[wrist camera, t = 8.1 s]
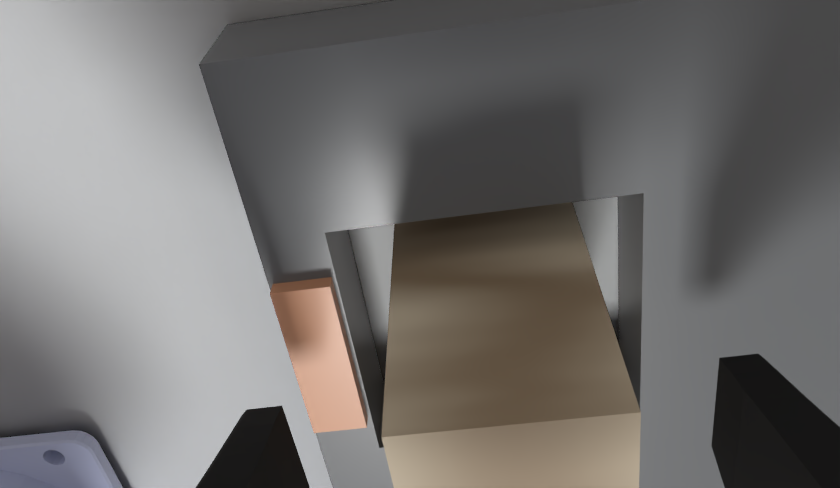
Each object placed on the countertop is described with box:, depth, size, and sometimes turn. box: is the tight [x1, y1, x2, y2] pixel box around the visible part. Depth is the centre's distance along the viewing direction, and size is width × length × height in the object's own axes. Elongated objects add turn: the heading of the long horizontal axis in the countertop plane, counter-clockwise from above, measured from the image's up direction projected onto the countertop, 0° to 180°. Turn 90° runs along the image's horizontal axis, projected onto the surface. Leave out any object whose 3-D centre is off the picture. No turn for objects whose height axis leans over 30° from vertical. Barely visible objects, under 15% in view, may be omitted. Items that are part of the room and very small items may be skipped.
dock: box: [199, 0, 840, 488], centre depth 17 cm, size 12×20×2 cm, turn 8°
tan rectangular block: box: [381, 202, 641, 488], centre depth 14 cm, size 4×4×6 cm
